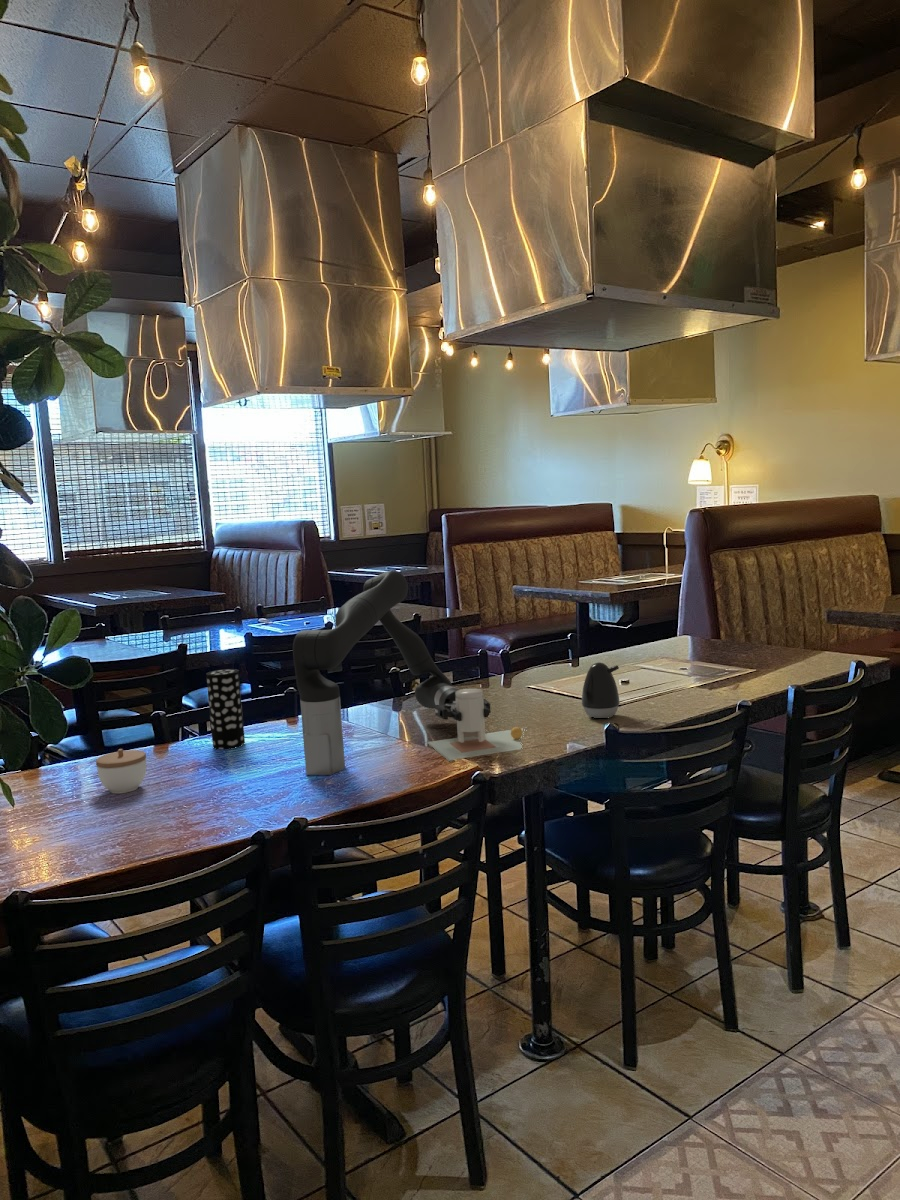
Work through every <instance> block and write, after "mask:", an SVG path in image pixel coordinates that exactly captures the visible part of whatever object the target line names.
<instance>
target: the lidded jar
mask: <svg viewBox="0 0 900 1200" xmlns="http://www.w3.org/2000/svg"><path fill="white" fill-rule="evenodd" d="M146 754H147V753H146V752H145V751H143V750H138V749H130V750H129V749H128V750H124V749H123V748H119V749H117V751H114V752H110V753H106V754H104V755H101V756H99V757H98V758H97V759H96V760H95V763H96V769H97V774H98V778H99V782H100V783H101V784H102V786H103V787H104V788H105V789H107V790H108V791H109V792H110V793H111V794H114V795H115V794H126V793H131V792H134V791H136V790H138V789H139V786H140V785H141V784H142V783H143V781H144V779H145V777H146V772H147V759H146V758H147V755H146Z"/></svg>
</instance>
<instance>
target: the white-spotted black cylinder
mask: <svg viewBox="0 0 900 1200" xmlns="http://www.w3.org/2000/svg"><path fill="white" fill-rule="evenodd" d="M239 671H240V670H239V669H236V668H226V669H225V668H224V669H215V670H212V671H211V670H210V671H209V672H206V684H207V693H208V694H207V696H208V705H209V707H208V708H209V719H210V726H211V727H210V728H211V739H212V748H213V747H214V748H216V749H215V750H217V749H229V750H232V749H231V748H235V747H239V746H241V745H243V744H244V743H245V744H246V742H245V741H246V739H245V731H244V730H245V729H244V728H245V727H244V715H243V706H242V695H241V694H242V692H241V684H240V683H241V682H240V672H239ZM243 746H244V745H243ZM241 747H242V746H241ZM214 748H213V749H214ZM239 748H240V747H239ZM235 749H236V748H235Z"/></svg>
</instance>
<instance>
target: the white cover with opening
mask: <svg viewBox="0 0 900 1200" xmlns="http://www.w3.org/2000/svg"><path fill="white" fill-rule="evenodd" d="M455 694H456V697H455V698H456V710H458V711H459V712H461V717H462V721H457V720H456V730H457V732H456V733H457V738H458V741H460V742H461V743H463V742H464V738H467V737H478V738H479V742H482V741H484V740H485V739H486V736H485V734H486V724H485V722H486V721H485V717H484V700H483V699H484V691H483V689H480V688H463V689H459V690H458V691H456V692H455Z"/></svg>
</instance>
